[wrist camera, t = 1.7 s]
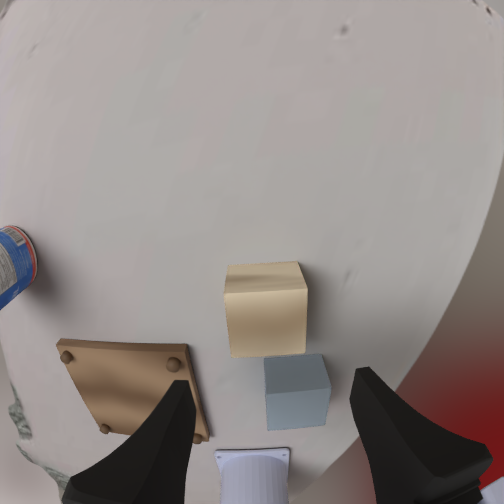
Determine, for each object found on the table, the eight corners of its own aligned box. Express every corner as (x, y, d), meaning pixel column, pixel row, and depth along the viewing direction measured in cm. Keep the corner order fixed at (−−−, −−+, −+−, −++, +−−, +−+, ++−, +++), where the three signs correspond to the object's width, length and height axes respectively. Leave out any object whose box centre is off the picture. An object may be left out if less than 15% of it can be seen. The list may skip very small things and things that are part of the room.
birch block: (296, 318, 21) (305, 353, 18) (233, 322, 22) (231, 357, 18) (296, 260, 20) (307, 288, 16) (228, 264, 20) (223, 293, 16)
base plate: (209, 434, 26) (208, 446, 25) (104, 424, 26) (99, 435, 25) (186, 343, 22) (182, 357, 20) (60, 338, 22) (52, 349, 21)
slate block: (316, 390, 24) (325, 425, 20) (265, 395, 24) (267, 430, 21) (320, 352, 23) (331, 387, 19) (263, 357, 23) (266, 393, 19)
